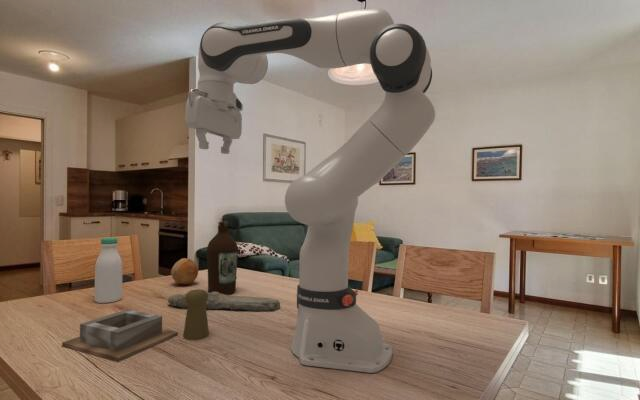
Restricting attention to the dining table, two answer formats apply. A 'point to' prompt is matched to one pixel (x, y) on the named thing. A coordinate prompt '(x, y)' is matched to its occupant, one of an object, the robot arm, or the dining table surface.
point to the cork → (196, 315)
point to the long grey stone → (230, 302)
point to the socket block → (120, 335)
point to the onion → (184, 271)
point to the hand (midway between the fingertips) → (214, 151)
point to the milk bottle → (108, 273)
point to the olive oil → (222, 262)
